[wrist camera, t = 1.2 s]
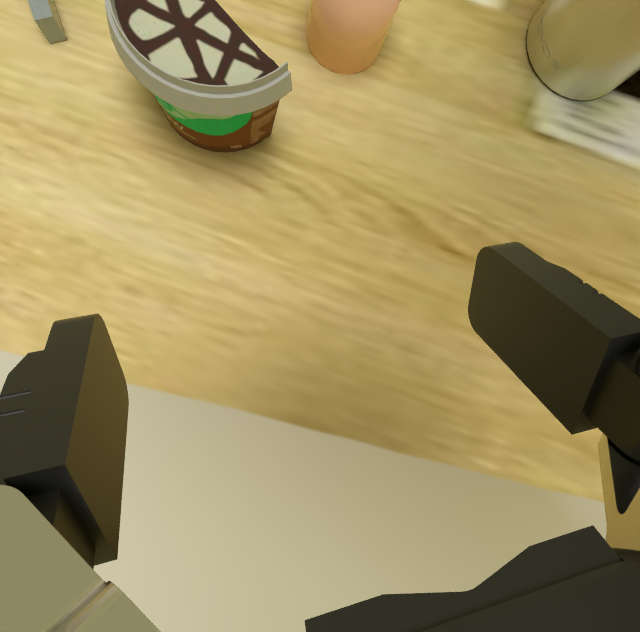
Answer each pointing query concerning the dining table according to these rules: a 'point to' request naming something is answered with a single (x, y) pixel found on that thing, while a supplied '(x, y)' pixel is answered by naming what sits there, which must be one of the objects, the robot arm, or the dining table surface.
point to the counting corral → (48, 19)
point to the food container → (200, 70)
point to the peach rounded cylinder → (348, 32)
